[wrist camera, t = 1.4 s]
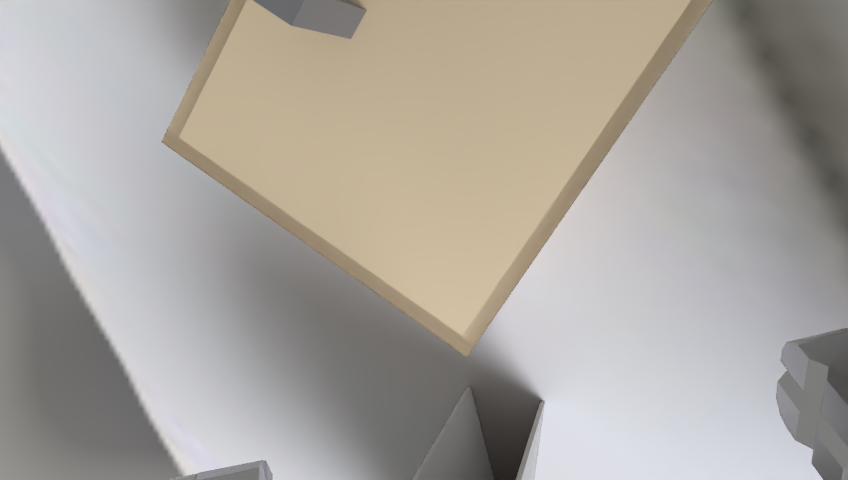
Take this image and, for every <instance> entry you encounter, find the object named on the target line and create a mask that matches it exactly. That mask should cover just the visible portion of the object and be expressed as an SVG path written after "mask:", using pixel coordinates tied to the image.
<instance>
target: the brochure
mask: <svg viewBox="0 0 848 480" xmlns="http://www.w3.org/2000/svg"><path fill="white" fill-rule="evenodd" d="M544 403H545V402H542V401H540V405H539V408H538V411H537V414H536V417H535V420H534V423H533V427H532V430H531V433H530V436H529V439H528V442H527V446H526V449H525V452H524V455H523V458H522V461H521V464H520V468H519V471H518V474H517V477H516V480H534V478H535V471H536V463H537V456H538V448H539V441H540V433H541V426H542V418H543V411H544ZM412 480H494V477H493V473H492V469H491V465H490V461H489V457H488V453H487V449H486V445H485V441H484V437H483V433H482V429H481V425H480V421H479V417H478V413H477V409H476V405H475V401H474V397H473V393H472V389H471V387H466V389H465V391H464V392H463V394H462V396H461V397H460V399H459V401H458V402H457V404H456V406H455V408H454V409H453V411H452V413H451V414H450V416H449V418H448V419H447V421H446V423H445V424H444V426H443V428H442V429H441V431H440V433H439V435H438V436H437V438H436V440H435V441H434V443H433V445H432V446H431V448H430V450H429V451H428V453H427V455H426V456H425V458H424V460H423V462H422V463H421V465H420V467H419V468H418V470H417V472H416V473H415V475H414V477H413V478H412Z"/></svg>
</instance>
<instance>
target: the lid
mask: <svg viewBox="0 0 848 480" xmlns="http://www.w3.org/2000/svg"><path fill="white" fill-rule="evenodd" d="M712 1H713V0H231V1H230V3H229V5H228V7H227V9H226V11H225V13H224V15H223V17H222V19H221V21H220V23H219V25H218V27H217V29H216V31H215V33H214V35H213V37H212V39H211V41H210V43H209V46H208V48H207V50H206V52H205V54H204V56H203V58H202V60H201V62H200V64H199V66H198V68H197V70H196V72H195V74H194V76H193V78H192V80H191V82H190V84H189V86H188V88H187V91H186V93H185V95H184V97H183V99H182V101H181V103H180V105H179V107H178V109H177V111H176V113H175V115H174V117H173V119H172V121H171V123H170V125H169V127H168V129H167V131H166V133H165V136H164V138H163V140H162V143H164V144H165V145H166V146H168V147H169V148H171V149H172V150H174V151H175V152H176V153H178V154H179V155H181V156H182V157H183V158H185V159H186V160H188V161H189V162H191V163H192V164H193V165H195V166H196V167H198V168H199V169H201V170H202V171H203V172H205V173H206V174H208V175H209V176H210V177H212V178H213V179H215V180H216V181H218V182H219V183H220V184H222V185H223V186H225V187H226V188H228V189H229V190H230V191H232V192H233V193H235V194H236V195H237V196H239V197H240V198H242V199H243V200H245V201H246V202H247V203H249V204H250V205H252V206H253V207H254V208H256V209H257V210H259V211H260V212H262V213H263V214H264V215H266V216H267V217H269V218H270V219H272V220H273V221H274V222H276V223H277V224H279V225H280V226H281V227H283V228H284V229H286V230H287V231H289V232H290V233H291V234H293V235H294V236H296V237H297V238H298V239H300V240H301V241H303V242H304V243H306V244H307V245H308V246H310V247H311V248H313V249H314V250H316V251H317V252H318V253H320V254H321V255H323V256H324V257H325V258H327V259H328V260H330V261H331V262H333V263H334V264H335V265H337V266H338V267H340V268H341V269H342V270H344V271H345V272H347V273H348V274H350V275H351V276H352V277H354V278H355V279H357V280H358V281H360V282H361V283H362V284H364V285H365V286H367V287H368V288H369V289H371V290H372V291H374V292H375V293H377V294H378V295H379V296H381V297H382V298H384V299H385V300H387V301H388V302H389V303H391V304H392V305H394V306H395V307H396V308H398V309H399V310H401V311H402V312H404V313H405V314H406V315H408V316H409V317H411V318H412V319H413V320H415V321H416V322H418V323H419V324H421V325H422V326H423V327H425V328H426V329H428V330H429V331H431V332H432V333H433V334H435V335H436V336H438V337H439V338H440V339H442V340H443V341H445V342H446V343H448V344H449V345H450V346H452V347H453V348H455V349H456V350H457V351H459V352H460V353H462V354H463V355H465V356H466V357H467V356H468V355H469V353H470V352H471V350H472V349H473V347H474V346H475V345H476V343H477V342H478V340H479V339H480V337H481V336H482V334H483V333H484V332H485V330H486V329H487V327H488V326H489V324H490V323H491V321H492V320H493V319H494V317H495V316H496V314H497V313H498V311H499V310H500V308H501V307H502V305H503V304H504V303H505V301H506V300H507V298H508V297H509V295H510V294H511V292H512V291H513V290H514V288H515V287H516V285H517V284H518V282H519V281H520V279H521V278H522V276H523V275H524V274H525V272H526V271H527V269H528V268H529V266H530V265H531V263H532V262H533V261H534V259H535V258H536V256H537V255H538V253H539V252H540V250H541V249H542V247H543V246H544V245H545V243H546V242H547V240H548V239H549V237H550V236H551V234H552V233H553V232H554V230H555V229H556V227H557V226H558V224H559V223H560V221H561V220H562V218H563V217H564V216H565V214H566V213H567V211H568V210H569V208H570V207H571V205H572V204H573V203H574V201H575V200H576V198H577V197H578V195H579V194H580V192H581V191H582V190H583V188H584V187H585V185H586V184H587V182H588V181H589V179H590V178H591V176H592V175H593V174H594V172H595V171H596V169H597V168H598V166H599V165H600V163H601V162H602V161H603V159H604V158H605V156H606V155H607V153H608V152H609V150H610V149H611V147H612V146H613V145H614V143H615V142H616V140H617V139H618V137H619V136H620V134H621V133H622V132H623V130H624V129H625V127H626V126H627V124H628V123H629V121H630V120H631V118H632V117H633V116H634V114H635V113H636V111H637V110H638V108H639V107H640V105H641V104H642V103H643V101H644V100H645V98H646V97H647V95H648V94H649V92H650V91H651V89H652V88H653V87H654V85H655V84H656V82H657V81H658V79H659V78H660V76H661V75H662V74H663V72H664V71H665V69H666V68H667V66H668V65H669V63H670V62H671V61H672V59H673V58H674V56H675V55H676V53H677V52H678V50H679V49H680V47H681V46H682V45H683V43H684V42H685V40H686V39H687V37H688V36H689V34H690V33H691V32H692V30H693V29H694V27H695V26H696V24H697V23H698V21H699V20H700V18H701V17H702V16H703V14H704V13H705V11H706V10H707V8H708V7H709V5H710V4H711V3H712Z"/></svg>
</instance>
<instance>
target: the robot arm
mask: <svg viewBox="0 0 848 480" xmlns="http://www.w3.org/2000/svg"><path fill="white" fill-rule="evenodd" d="M780 361H781V362H782V364H783V365H784V366H785V367H786V369H787V371H786V372H785V374H784V375H783V376H782V377H781V378H780V379H779V380H778V382H777V393H776V399H777V403H778V407H779V412H780V415H781V417H782V419H783V421H784V423H785V425H786V427H787V429H788V430H789V432H790V433H791V435H792V436H793V438H794V439H795V440H796V441H798V442H800V443H802V444H804V445H806V446H808V447H810V448H812V449H813V455H812V464H813V466H814V467H815V469H816V470H817V471H818V473H819V474H820V476H821V477H822V478H823V480H848V328H844V329H840V330H836V331H832V332H827V333H823V334H819V335H815V336H810V337H806V338H802V339H798V340H793V341H789V342H787V343H786V344H785V346H784V347H783V348H782V354H781V360H780ZM168 480H272V473H271V470H270V468H269V466H268V464H267V462H266V461H263V460H261V461H256V462H251V463H246V464H241V465H236V466H231V467H225V468H220V469H215V470H210V471H205V472H200V473H197V474H192V475H187V476H182V477H178V478H173V479H168Z"/></svg>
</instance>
